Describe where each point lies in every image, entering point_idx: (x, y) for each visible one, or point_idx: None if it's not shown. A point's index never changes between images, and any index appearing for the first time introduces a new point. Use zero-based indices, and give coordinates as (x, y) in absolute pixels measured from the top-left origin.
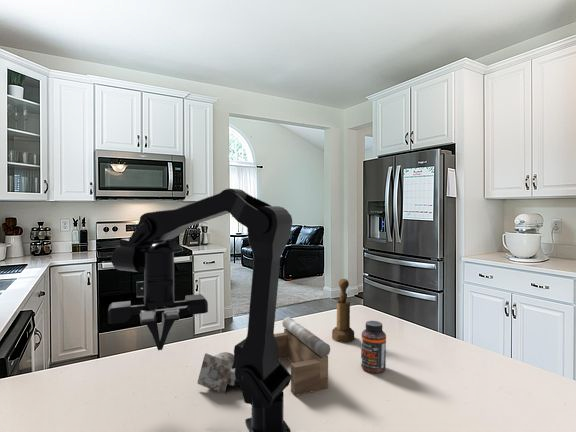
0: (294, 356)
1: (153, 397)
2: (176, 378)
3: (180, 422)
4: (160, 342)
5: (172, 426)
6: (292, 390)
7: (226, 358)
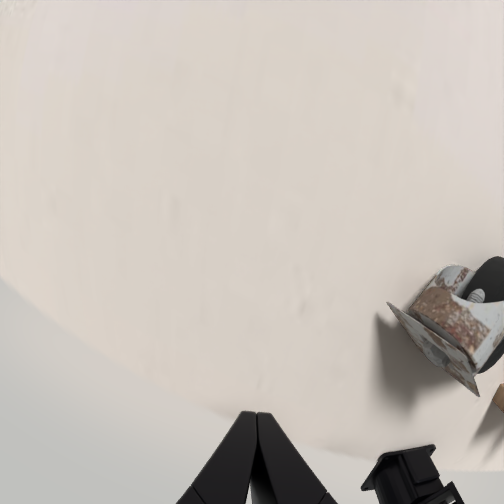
0: None
1: (234, 276)
2: (342, 173)
3: None
4: (251, 487)
5: None
6: (499, 393)
7: (497, 344)
